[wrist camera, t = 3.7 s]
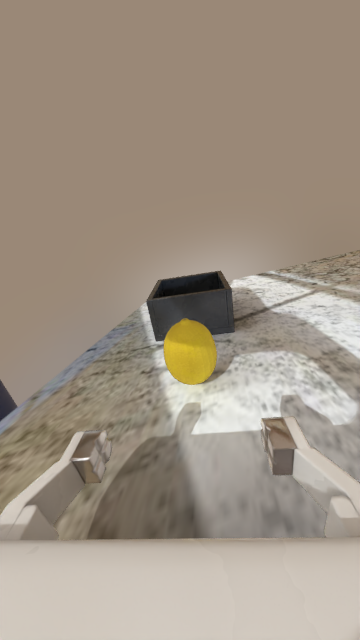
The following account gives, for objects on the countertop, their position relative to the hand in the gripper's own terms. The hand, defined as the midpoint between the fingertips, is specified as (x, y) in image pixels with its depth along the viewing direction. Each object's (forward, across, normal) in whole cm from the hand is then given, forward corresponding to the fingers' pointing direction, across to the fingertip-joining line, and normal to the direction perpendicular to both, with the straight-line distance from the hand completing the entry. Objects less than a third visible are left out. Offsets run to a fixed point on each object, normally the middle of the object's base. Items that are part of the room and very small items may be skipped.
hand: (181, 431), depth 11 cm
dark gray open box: (+29, 0, +7) cm, 29 cm away
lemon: (+12, 0, +7) cm, 14 cm away
